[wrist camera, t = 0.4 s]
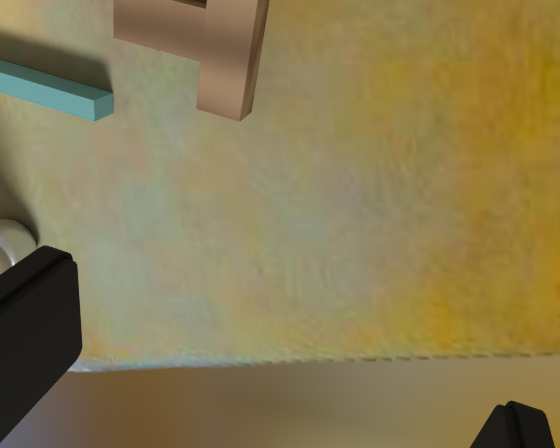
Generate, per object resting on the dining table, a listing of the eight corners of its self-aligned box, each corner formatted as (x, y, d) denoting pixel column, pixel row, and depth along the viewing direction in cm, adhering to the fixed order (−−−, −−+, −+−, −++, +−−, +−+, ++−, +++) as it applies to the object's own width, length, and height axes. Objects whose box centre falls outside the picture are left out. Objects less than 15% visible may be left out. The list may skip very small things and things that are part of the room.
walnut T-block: (135, -71, 37) (113, -74, 35) (275, -38, 35) (263, -39, 33) (132, 77, 43) (113, 84, 41) (251, 112, 42) (239, 121, 39)
